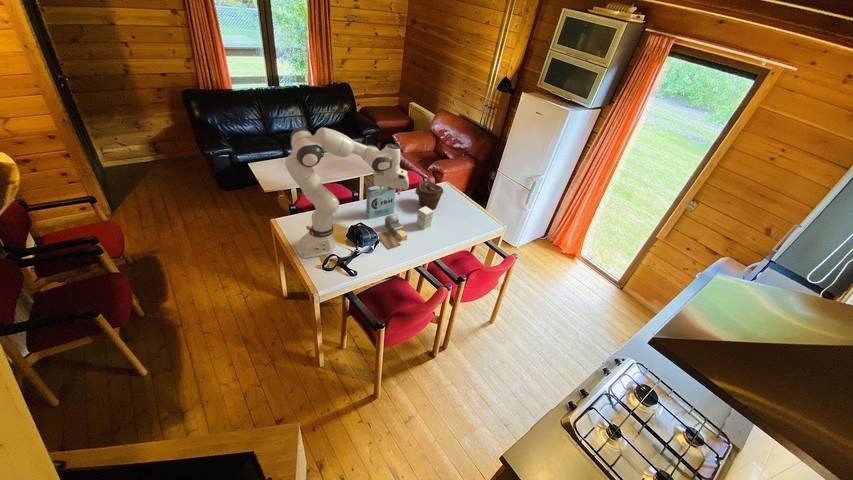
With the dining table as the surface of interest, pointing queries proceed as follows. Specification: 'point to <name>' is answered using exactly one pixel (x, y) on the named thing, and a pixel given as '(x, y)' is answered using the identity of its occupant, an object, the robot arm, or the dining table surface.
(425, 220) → the supplement box
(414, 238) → the dining table surface
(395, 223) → the dispenser
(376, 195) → the gum box
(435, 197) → the brown plant pot
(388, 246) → the brown wooden board
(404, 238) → the yellow block
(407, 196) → the dining table surface
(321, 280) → the dining table surface
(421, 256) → the dining table surface
